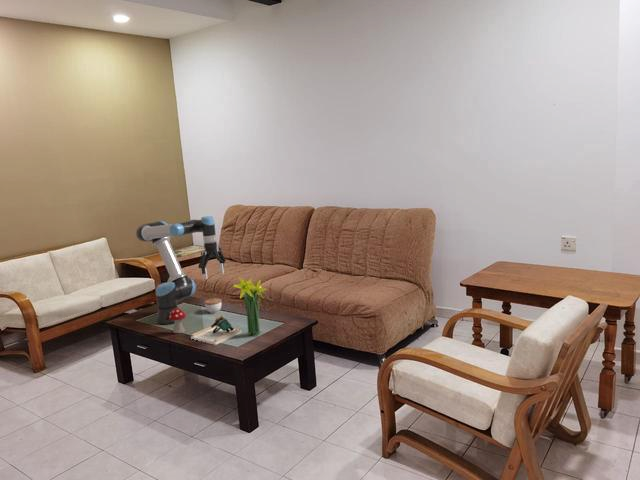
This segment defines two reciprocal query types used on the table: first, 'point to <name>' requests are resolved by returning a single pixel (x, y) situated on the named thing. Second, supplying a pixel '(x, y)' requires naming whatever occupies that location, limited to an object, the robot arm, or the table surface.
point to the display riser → (214, 335)
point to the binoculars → (222, 325)
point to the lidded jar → (213, 305)
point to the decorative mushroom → (177, 320)
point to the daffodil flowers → (249, 289)
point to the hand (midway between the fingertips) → (213, 276)
